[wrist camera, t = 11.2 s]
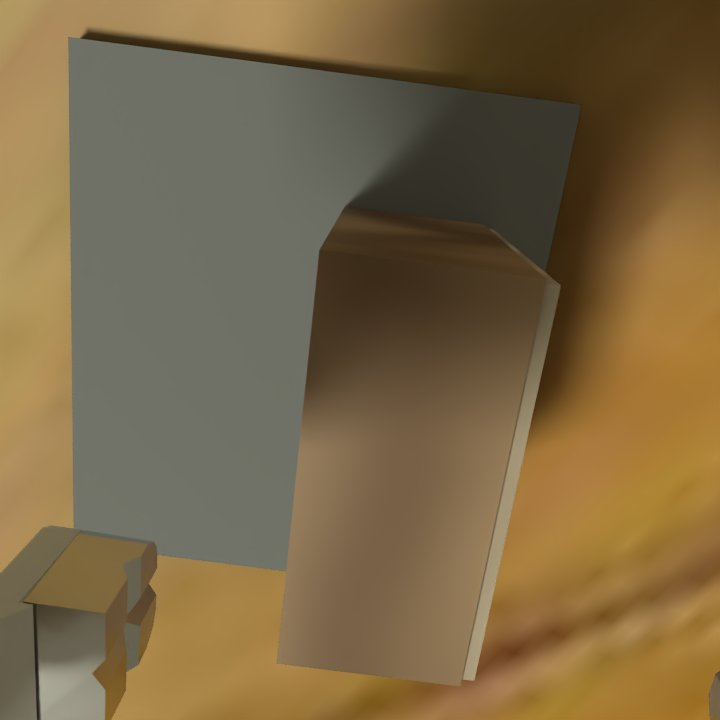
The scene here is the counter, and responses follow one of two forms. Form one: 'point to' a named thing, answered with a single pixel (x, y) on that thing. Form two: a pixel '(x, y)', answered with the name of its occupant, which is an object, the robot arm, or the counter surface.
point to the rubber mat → (248, 264)
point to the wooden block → (410, 443)
